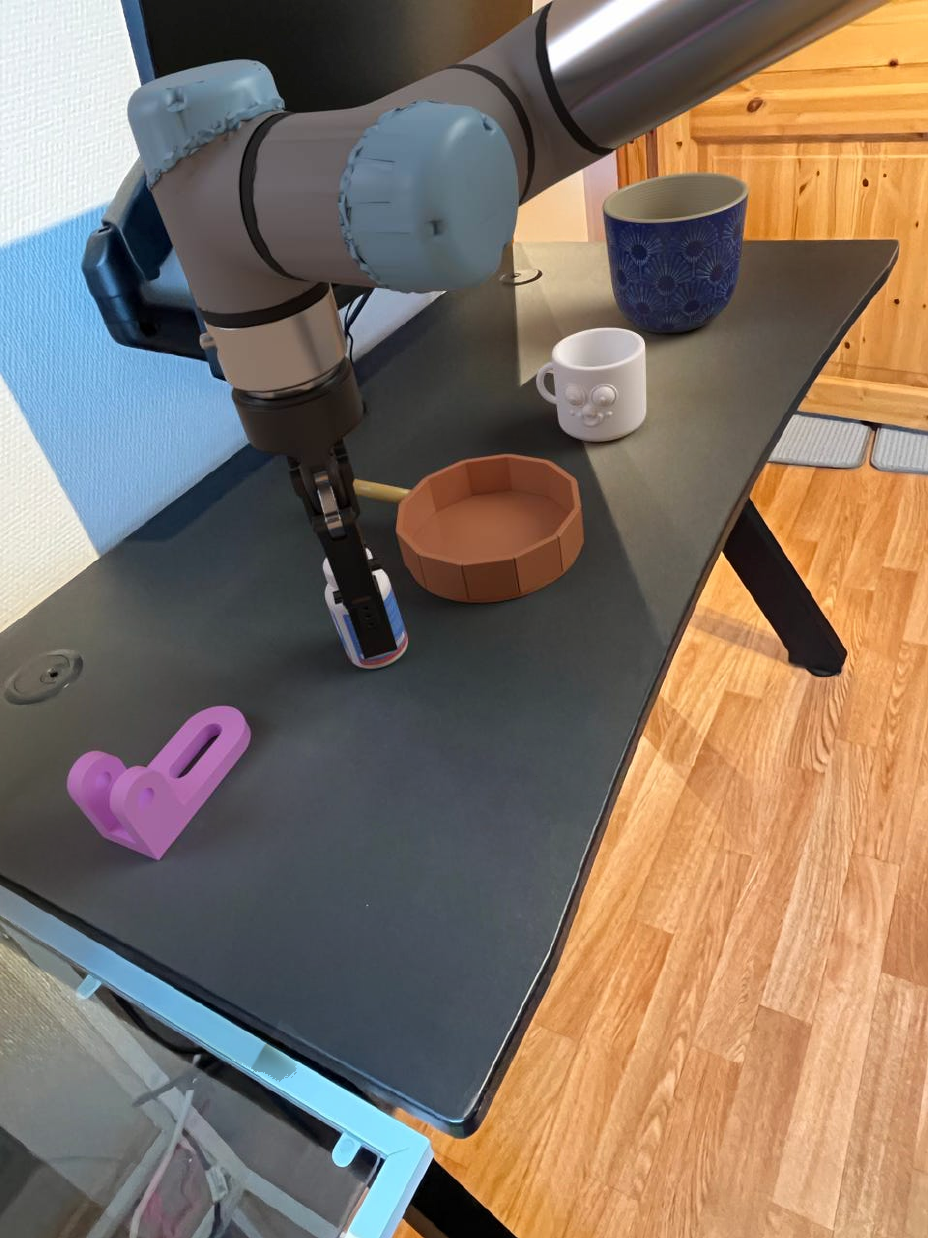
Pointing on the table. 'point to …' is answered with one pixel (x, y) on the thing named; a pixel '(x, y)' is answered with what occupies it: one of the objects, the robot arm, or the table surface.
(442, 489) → the pan
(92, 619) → the table surface
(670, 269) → the planter
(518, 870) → the table surface
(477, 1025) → the table surface
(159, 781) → the bracket
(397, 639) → the pill bottle
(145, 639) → the table surface
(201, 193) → the robot arm
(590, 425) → the mug
